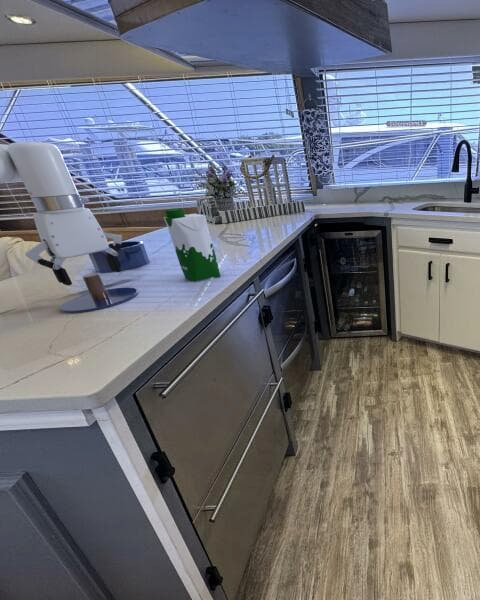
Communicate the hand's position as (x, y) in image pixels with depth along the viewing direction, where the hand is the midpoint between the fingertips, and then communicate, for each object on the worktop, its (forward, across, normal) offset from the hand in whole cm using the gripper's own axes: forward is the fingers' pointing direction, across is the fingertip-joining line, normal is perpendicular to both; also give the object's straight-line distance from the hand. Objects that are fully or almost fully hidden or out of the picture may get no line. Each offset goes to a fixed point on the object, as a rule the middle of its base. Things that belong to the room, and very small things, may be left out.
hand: (93, 277), depth 77 cm
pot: (+6, -17, -25) cm, 31 cm away
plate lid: (+6, 0, 0) cm, 6 cm away
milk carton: (+7, -22, +7) cm, 24 cm away
